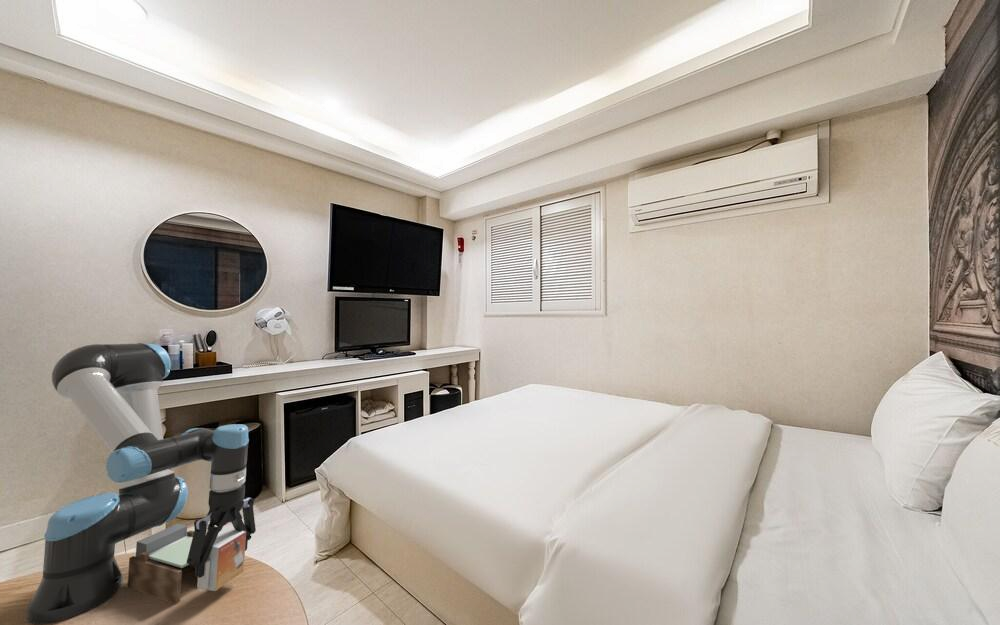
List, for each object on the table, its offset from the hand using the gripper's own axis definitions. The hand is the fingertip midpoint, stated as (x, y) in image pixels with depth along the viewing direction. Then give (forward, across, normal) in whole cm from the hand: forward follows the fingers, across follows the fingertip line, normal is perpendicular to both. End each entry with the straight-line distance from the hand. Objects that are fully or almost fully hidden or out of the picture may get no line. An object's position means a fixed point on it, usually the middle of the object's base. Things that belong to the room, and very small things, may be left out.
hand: (221, 576), depth 92 cm
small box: (+1, 0, 0) cm, 1 cm away
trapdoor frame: (+4, -1, +15) cm, 16 cm away
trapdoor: (-1, -1, +15) cm, 15 cm away
